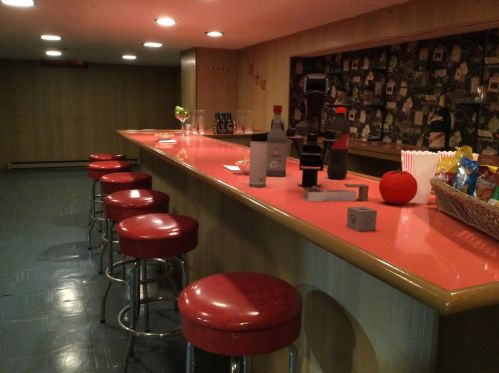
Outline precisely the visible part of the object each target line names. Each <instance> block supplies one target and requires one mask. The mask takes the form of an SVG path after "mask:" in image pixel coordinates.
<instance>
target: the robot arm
mask: <svg viewBox="0 0 499 373" xmlns="http://www.w3.org/2000/svg"><path fill="white" fill-rule="evenodd" d="M330 85H331V84H330V80H329V78H328V77H327V75H326V74H321V73H310V74H309V73H308V74H307V75H306V77H304V83H303V96H302V99H304V105H305V115H303V117H302V121H299V122H298V123H297V124H295V127H289V128H287V129H286V130H285V135H286V136H287V138H288V140H291V141H292V142H293V144H294V147H295V150H296V153H297V157H298V159H299V171H302V173H301V174H302V175H301V183H299V184H297V186H298V187H303V188H308V189H311V188H312V186H318V188H319V187H321V186H322V185H321V184H318V181H319V180H318V179H319V178H318V177H319V172H324V168H325V161H326V160H327V158H328V157H329V152H330V150H331V148H332V147H333V145H334V143H335V142H338V140H340V139H342V133H341V131H333V130H330V129H328V130H325V129H324V128H323V120H325V117H326V116H324V108H325V105H326V102H325V99H326V96H328V94H330ZM305 137H306V142H305ZM318 138H324V139H322V141H321V142H322V143H323V149H321V146H320V145H319V144H318ZM304 142H305V144H304Z"/></svg>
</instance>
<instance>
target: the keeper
mask: <svg viewBox="0 0 499 373" xmlns="http://www.w3.org/2000/svg"><path fill="white" fill-rule="evenodd" d="M344 187H347V188H358V197H357V199H358V200H359V201H362V202H369V199H368V198H369V187H370V186H369V185H368V184H365V183H344Z"/></svg>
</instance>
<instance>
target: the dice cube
mask: <svg viewBox="0 0 499 373" xmlns="http://www.w3.org/2000/svg"><path fill="white" fill-rule="evenodd" d="M377 213H378V210H377V209H373V208H370V207H368V206H364V205H363V206H350V207H347V214H346V215H347V217H346V218H347V219H346V227H347V228H349V229H351V230H354V231H357V232H367V231H368V232H369V231H376V226H377V216H378V214H377Z"/></svg>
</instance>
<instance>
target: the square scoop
mask: <svg viewBox="0 0 499 373" xmlns="http://www.w3.org/2000/svg"><path fill="white" fill-rule="evenodd" d="M303 199H304V200H305V201H306V202H308V203H309V202H310V203H311V202H315V203H318V202H319V203H321V202H322V203H323V202H326V201H327V202H331V201H332V202H356V200H357V191H355V190H354V189H321V188H318V192H311V188H304V189H303Z"/></svg>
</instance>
